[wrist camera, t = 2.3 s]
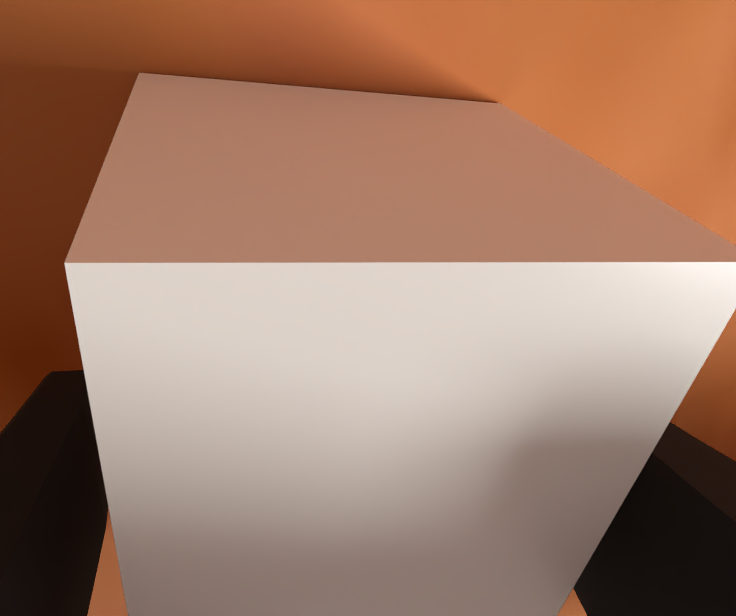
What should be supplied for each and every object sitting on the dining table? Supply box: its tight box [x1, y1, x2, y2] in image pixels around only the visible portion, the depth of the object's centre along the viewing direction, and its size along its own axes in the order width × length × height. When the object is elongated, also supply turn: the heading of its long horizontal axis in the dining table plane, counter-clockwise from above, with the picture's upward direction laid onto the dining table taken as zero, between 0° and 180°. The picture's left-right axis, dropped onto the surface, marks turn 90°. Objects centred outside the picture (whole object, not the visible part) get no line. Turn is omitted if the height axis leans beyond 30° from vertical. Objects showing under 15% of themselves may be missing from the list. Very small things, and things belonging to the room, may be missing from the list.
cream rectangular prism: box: [64, 73, 736, 616], centre depth 9 cm, size 6×10×5 cm, turn 171°
